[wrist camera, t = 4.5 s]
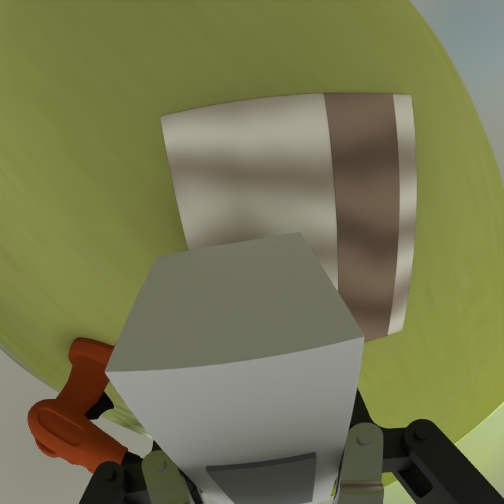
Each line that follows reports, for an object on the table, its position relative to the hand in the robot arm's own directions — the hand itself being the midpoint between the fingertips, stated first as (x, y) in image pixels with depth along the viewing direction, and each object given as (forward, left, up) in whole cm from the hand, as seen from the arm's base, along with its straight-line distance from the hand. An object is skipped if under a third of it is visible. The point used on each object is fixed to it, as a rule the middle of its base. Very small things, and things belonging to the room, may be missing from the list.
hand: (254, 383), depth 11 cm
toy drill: (+12, -14, -14) cm, 23 cm away
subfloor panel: (0, +6, -14) cm, 15 cm away
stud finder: (0, 0, -1) cm, 1 cm away
